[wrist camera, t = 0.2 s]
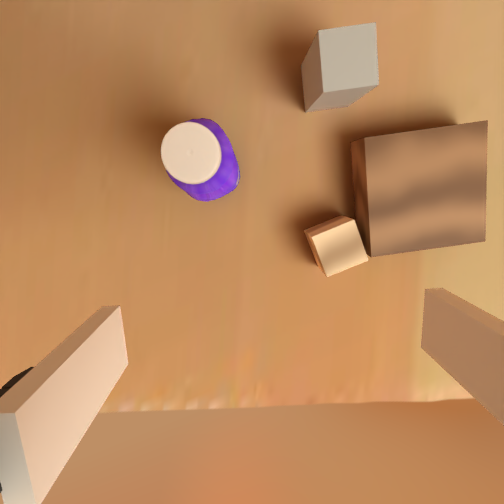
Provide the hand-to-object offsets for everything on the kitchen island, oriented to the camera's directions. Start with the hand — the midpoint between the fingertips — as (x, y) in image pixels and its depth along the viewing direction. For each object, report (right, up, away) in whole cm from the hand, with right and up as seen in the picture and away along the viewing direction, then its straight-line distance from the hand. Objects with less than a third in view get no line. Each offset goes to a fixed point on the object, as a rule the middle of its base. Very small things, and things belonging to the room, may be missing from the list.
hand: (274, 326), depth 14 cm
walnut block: (+18, +11, +27) cm, 34 cm away
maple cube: (+9, +5, +27) cm, 29 cm away
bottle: (-6, +13, +25) cm, 29 cm away
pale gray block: (+7, +22, +24) cm, 33 cm away
